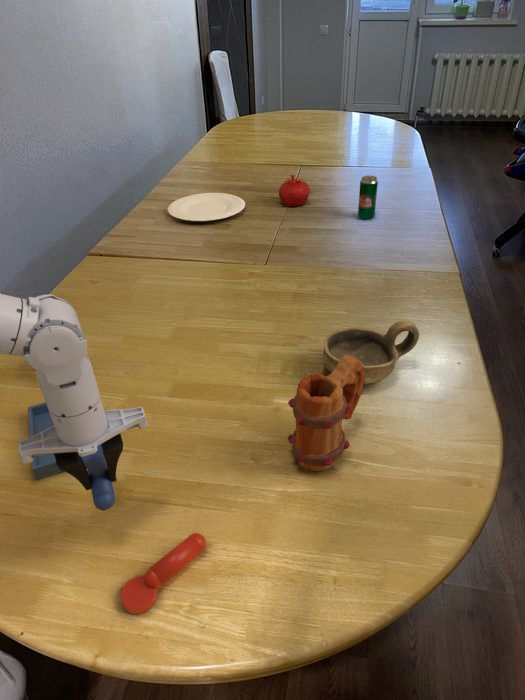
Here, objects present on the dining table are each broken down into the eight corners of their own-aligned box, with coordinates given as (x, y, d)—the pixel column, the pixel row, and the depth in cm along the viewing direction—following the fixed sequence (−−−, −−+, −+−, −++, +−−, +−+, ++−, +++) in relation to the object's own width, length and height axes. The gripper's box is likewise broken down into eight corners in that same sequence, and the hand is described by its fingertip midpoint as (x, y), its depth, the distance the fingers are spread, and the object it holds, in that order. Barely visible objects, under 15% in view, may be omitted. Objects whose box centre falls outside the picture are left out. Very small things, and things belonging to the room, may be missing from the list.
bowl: (313, 353, 101) (315, 310, 95) (401, 345, 102) (407, 302, 96) (328, 399, 90) (330, 353, 84) (426, 390, 91) (435, 344, 85)
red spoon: (194, 533, 69) (192, 521, 67) (215, 553, 67) (213, 541, 65) (115, 597, 62) (111, 585, 61) (135, 622, 60) (130, 610, 58)
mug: (318, 489, 74) (322, 411, 65) (277, 460, 79) (275, 384, 70) (376, 435, 83) (386, 359, 74) (335, 412, 87) (340, 338, 79)
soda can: (354, 218, 157) (357, 178, 150) (362, 213, 160) (365, 174, 153) (369, 221, 154) (373, 181, 147) (377, 216, 158) (381, 176, 151)
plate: (233, 228, 154) (233, 222, 153) (155, 223, 159) (154, 217, 158) (254, 199, 174) (253, 194, 173) (184, 196, 179) (183, 190, 178)
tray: (98, 460, 80) (95, 450, 79) (36, 479, 78) (32, 469, 76) (86, 401, 92) (83, 391, 90) (31, 416, 89) (27, 406, 88)
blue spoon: (125, 508, 64) (121, 494, 63) (91, 519, 63) (86, 506, 62) (109, 443, 74) (105, 430, 72) (79, 452, 72) (74, 439, 71)
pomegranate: (312, 207, 166) (312, 178, 160) (281, 210, 165) (281, 180, 159) (306, 197, 174) (306, 169, 168) (276, 199, 173) (276, 171, 167)
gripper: (5, 443, 53) (43, 524, 61) (144, 403, 58) (162, 484, 65) (5, 402, 59) (39, 481, 67) (132, 368, 63) (150, 447, 71)
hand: (100, 480), depth 66 cm, fingers closed on blue spoon, 2 cm apart
